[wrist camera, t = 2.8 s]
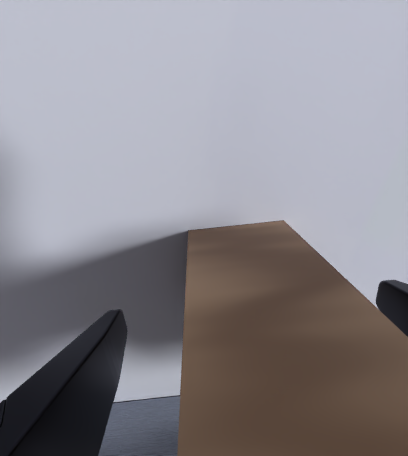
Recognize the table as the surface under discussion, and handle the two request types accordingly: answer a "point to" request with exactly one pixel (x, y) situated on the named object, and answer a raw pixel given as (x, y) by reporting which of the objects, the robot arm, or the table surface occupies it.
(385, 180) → the table surface
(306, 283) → the walnut peg
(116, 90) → the table surface
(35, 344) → the table surface
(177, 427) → the grey peg hole board
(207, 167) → the table surface
